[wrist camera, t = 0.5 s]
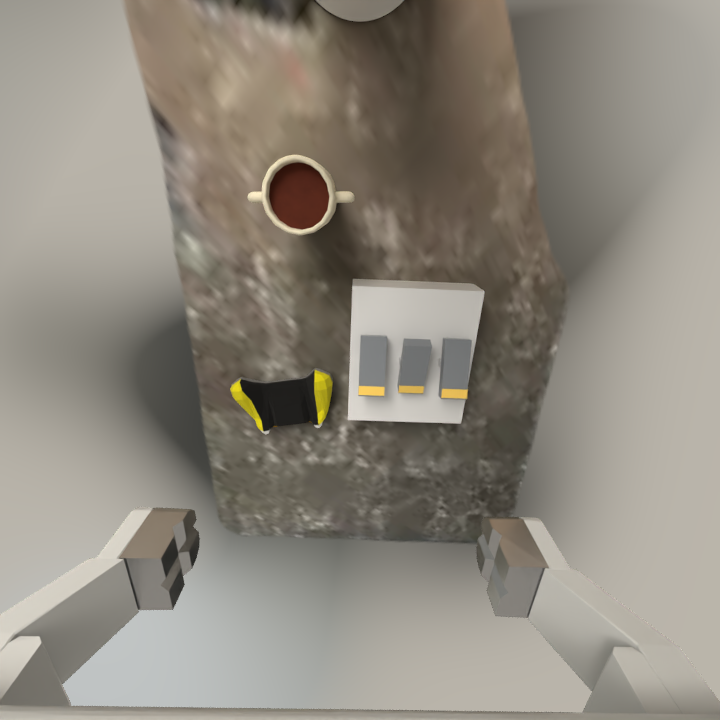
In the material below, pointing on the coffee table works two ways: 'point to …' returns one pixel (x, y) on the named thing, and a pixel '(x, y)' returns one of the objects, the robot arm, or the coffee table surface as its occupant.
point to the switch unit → (410, 321)
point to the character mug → (299, 195)
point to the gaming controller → (285, 399)
